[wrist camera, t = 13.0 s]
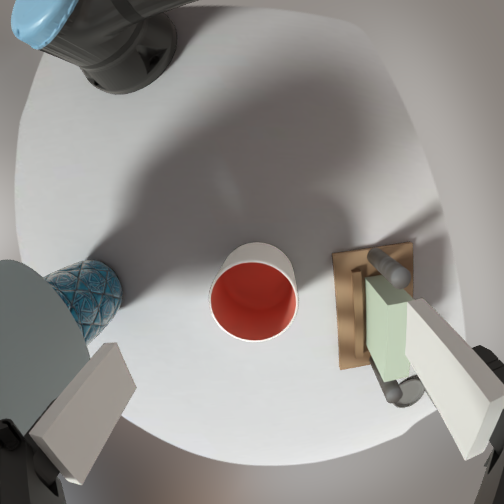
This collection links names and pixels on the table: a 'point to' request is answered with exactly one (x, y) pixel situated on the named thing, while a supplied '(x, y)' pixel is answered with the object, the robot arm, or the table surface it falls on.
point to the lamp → (49, 331)
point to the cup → (254, 293)
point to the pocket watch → (411, 393)
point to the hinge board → (354, 305)
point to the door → (387, 327)
